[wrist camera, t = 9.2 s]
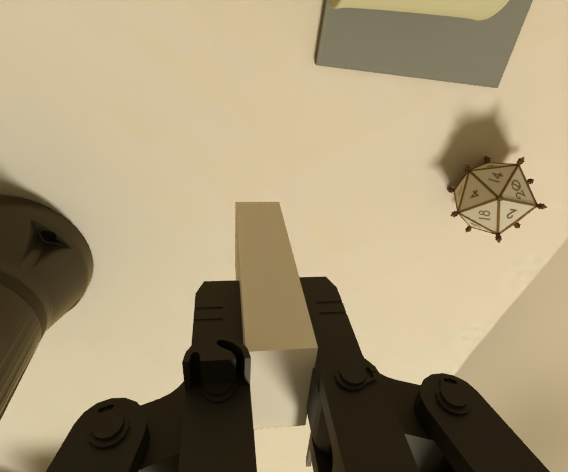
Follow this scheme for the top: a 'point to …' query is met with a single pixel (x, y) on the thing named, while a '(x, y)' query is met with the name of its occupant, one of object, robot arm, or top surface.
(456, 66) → the mat
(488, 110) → the top surface
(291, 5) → the top surface
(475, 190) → the game die
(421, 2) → the can
